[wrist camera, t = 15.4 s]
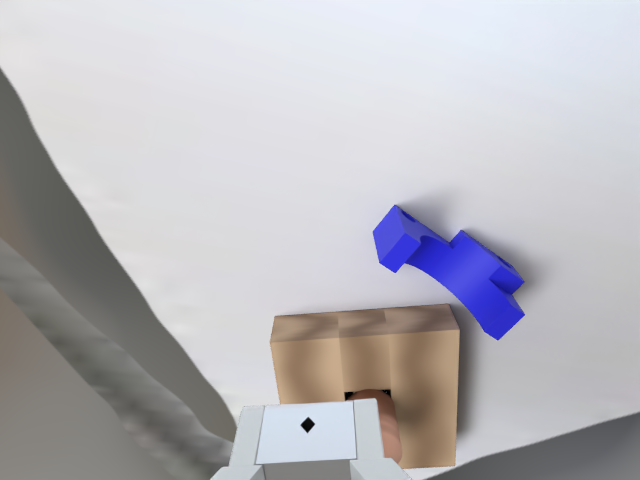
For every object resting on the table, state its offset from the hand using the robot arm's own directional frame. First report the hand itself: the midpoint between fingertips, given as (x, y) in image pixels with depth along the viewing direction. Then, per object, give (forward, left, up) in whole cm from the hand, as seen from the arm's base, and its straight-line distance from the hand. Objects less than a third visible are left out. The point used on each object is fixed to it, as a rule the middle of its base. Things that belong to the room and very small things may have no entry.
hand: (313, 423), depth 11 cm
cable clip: (-10, +10, -30) cm, 33 cm away
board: (-2, +24, -29) cm, 38 cm away
